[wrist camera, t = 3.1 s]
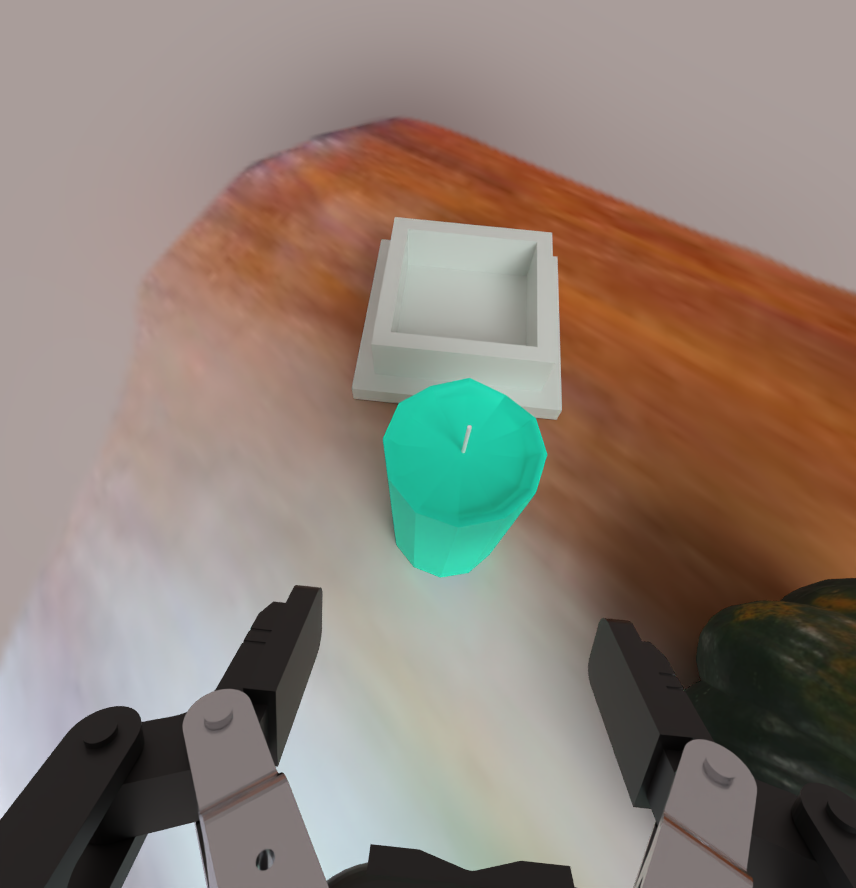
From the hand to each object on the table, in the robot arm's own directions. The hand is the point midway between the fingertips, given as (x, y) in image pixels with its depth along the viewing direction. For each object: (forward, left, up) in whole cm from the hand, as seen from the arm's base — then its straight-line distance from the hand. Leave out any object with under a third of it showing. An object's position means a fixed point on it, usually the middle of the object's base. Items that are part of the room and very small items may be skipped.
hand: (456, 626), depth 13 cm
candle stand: (0, -20, -11) cm, 23 cm away
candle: (0, -6, -12) cm, 13 cm away
